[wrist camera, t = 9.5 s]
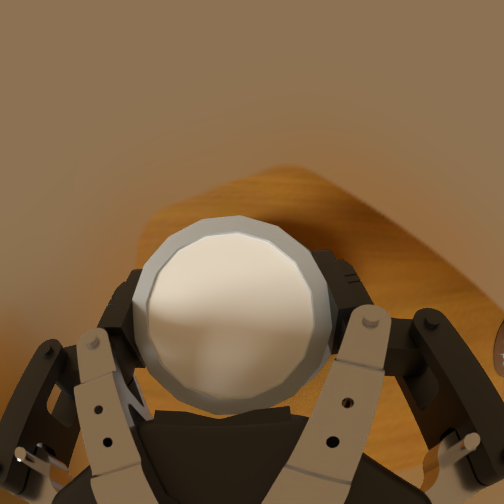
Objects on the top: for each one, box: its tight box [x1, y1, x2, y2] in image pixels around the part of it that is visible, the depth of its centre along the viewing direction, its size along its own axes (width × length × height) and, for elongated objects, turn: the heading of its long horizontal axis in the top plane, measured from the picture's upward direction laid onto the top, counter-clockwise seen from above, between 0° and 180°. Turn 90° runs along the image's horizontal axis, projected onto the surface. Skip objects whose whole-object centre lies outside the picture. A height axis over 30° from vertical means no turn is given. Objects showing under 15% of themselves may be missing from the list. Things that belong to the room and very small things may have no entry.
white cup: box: [132, 215, 332, 415], centre depth 12 cm, size 7×7×7 cm
